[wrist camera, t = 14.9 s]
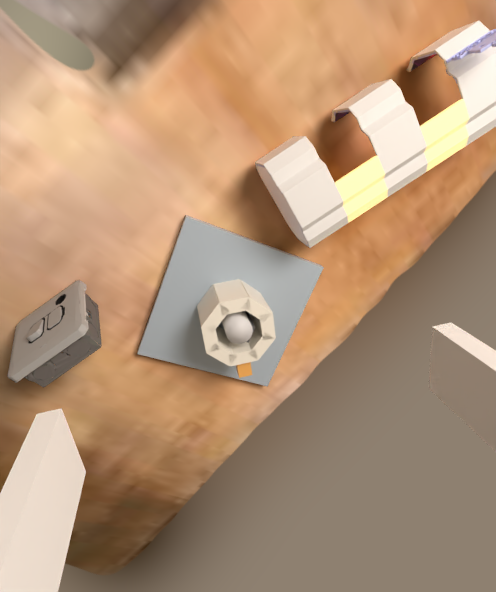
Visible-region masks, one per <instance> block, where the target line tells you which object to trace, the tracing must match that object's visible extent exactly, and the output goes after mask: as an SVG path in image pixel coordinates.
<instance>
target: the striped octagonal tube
mask: <svg viewBox="0 0 496 592" xmlns="http://www.w3.org/2000/svg"><path fill="white" fill-rule="evenodd" d="M436 54H438V55H439V56H440V57H441V58H442V59H443V60H444V63H445V66H446V72H447V74H448V75H450V76H453V78H454V79H455V80H456V84H458V87H459V90H460V93H461V97H462V99H461V100H459V101H457V102H456V103H454V104H453V105H451V106H449V107H448V108H446V109H445V110H443V111H442V112H440V113H439V114H437V115H436V116H434V117H433V118H431V119H430V120H428V121H427V122H425V123H424V124H422V125H421V126H420V125H419V123H418V120H417V117H416V114H415V112H414V109H413V107H412V106H411V105H409V104H408V103H407V102H406V101H405V99H404V96H403V94H402V91H401V89H400V88H399V87H398V86H397V84H396V83H395V82H394V81H393V80H392V79H389V80H385V81H381V82H378V83H374V84H371V85H369V86H368V87H366V88H365V89H363V90H362V91H360V92H359V93H357V94H356V95H354V96H353V97H351V98H350V99H348V100H347V101H345V102H344V103H342V104H341V105H339V106H338V107H336V108H335V109H333V110H332V119H331V121H333V122H336V121H337V120H339V119H340V118H342V117H343V116H345V115H346V114H348V113H349V112H351V113H352V114H353V115H354V116H355V117H356V118H357V121H358V123H359V125H360V128H361V131H362V132H364V133H365V134H366V135H367V136H368V137H369V140H370V141H371V144H372V146H373V148H374V151H375V153H376V156H374V157H372V158H371V159H369V160H368V161H366V162H365V163H363V164H362V165H360V166H359V167H357V168H356V169H354V170H353V171H351V172H350V173H348V174H346V175H345V176H343V177H342V178H340V179H339V180H337V181H336V182H334V180H333V178H332V176H331V174H330V172H329V170H328V168H327V166H326V165H325V163H324V162H323V161H322V160H321V159H320V158H319V156H318V154H317V152H316V150H315V148H314V146H313V145H312V144H311V142H310V141H309V140H308V139H307V137H306V136H293V137H292V138H290V139H289V140H287V141H286V142H284V143H283V144H281V145H280V146H278V147H277V148H275V149H274V150H272V151H271V152H269V153H268V154H266V155H265V156H263V157H262V158H260V159H259V160H257V161H256V162H255V165H256V168H257V169H256V170H257V171H258V173H259V175H260V177H261V179H262V180H263V182H264V184H265V186H266V187H267V189H268V191H269V193H270V194H271V196H272V198H273V200H274V202H275V203H276V205H277V207H278V209H279V210H280V212H281V214H282V216H283V217H284V219H285V221H286V223H287V224H288V226H289V227H290V230H292V232H293V233H294V234H295V236H296V237H297V238H298V240H300V241H301V242H303V243H304V244H305V245H307V246H308V247H309V248H311V247H312V246H314V245H315V244H317V243H318V242H320V241H321V240H323V239H324V238H326V237H328V236H329V235H331V234H332V233H334V232H335V231H337V230H338V229H340V228H341V227H343V226H344V225H346V224H347V223H349V222H350V221H352V220H354V219H355V218H357V217H358V216H360V215H361V214H363V213H364V212H366V211H367V210H369V209H370V208H372V207H373V206H375V205H376V204H378V203H379V202H381V201H383V200H384V199H386V198H387V197H389V196H390V195H392V194H393V193H395V192H396V191H398V190H399V189H401V188H402V187H404V186H405V185H407V184H409V183H410V182H412V181H413V180H415V179H416V178H418V177H419V176H421V175H422V174H424V173H425V172H427V171H428V170H430V169H431V168H433V167H434V166H436V165H438V164H439V163H441V162H442V161H444V160H445V159H447V158H448V157H450V156H451V155H453V154H454V153H456V152H457V151H459V150H460V149H462V148H463V147H465V146H467V145H468V144H470V143H471V142H473V141H474V140H476V139H477V138H479V137H480V136H482V135H483V134H485V133H486V132H488V131H489V130H491V129H493V128H494V127H496V29H494V30H491V31H489V29H487V28H486V27H485V26H484V25H483V24H482V23H481V22H480V21H476V22H474V23H471V24H468V25H466V26H463V27H460V28H458V29H455V30H452V31H450V32H449V33H447V34H446V35H444V36H443V37H441V38H440V39H438V40H437V41H435V42H434V43H432V44H431V45H429V46H428V47H426V48H425V49H423V50H422V51H420V52H419V53H417V54H416V55H414V56H413V57H411V60H410V63H409V67H408V68H407V69H406V70H407V71H409V72H410V71H412V70H414V69H415V68H417V67H418V66H420V65H421V64H423V63H424V62H426V61H427V60H429V59H430V58H432V57H433V56H435V55H436Z"/></svg>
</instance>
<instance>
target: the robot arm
mask: <svg viewBox="0 0 496 592" xmlns="http://www.w3.org/2000/svg"><path fill="white" fill-rule="evenodd" d="M429 389H430V390H431V391H432V392H433V393H434V394H435V395H436V396H437V397H438V398H439V399H440V400H441V401H443V403H444V404H445V405H447V406H448V407H449V408H450V409H451V410H452V411H453V412H454V413H455V414H456V415H457V416H458V417H459V418H461V420H462V421H464V422H465V423H466V424H467V425H468V426H469V427H470V428H471V429H472V430H473V431H474V432H475V433H476V434H477V435H478V436H480V438H482V439H483V440H484V441H485V442H486V443H487V444H488V445H489V446H490V447H491V448H492V449H493V450H494V451H495V452H496V351H495V350H493V349H492V348H490V347H489V346H487V345H486V344H484V343H482V342H481V341H479V340H478V339H476V338H475V337H473V336H472V335H470V334H468V333H467V332H465V331H464V330H462V329H461V328H459V327H457V326H456V325H454V324H453V323H447V324H443V325H438V326H433V327H432V341H431V358H430V375H429ZM85 473H86V471H85V468H84V466H83V463H82V460H81V458H80V455H79V453H78V450H77V447H76V445H75V442H74V440H73V437H72V434H71V432H70V429H69V426H68V424H67V421H66V419H65V416H64V413H63V411H62V408H61V409H57V410H52V411H48V412H43V413H39V414H37V415H36V417H35V419H34V421H33V423H32V426H31V428H30V430H29V432H28V434H27V436H26V439H25V441H24V443H23V445H22V447H21V449H20V452H19V454H18V456H17V458H16V460H15V463H14V465H13V467H12V469H11V471H10V473H9V476H8V478H7V480H6V482H5V484H4V486H3V489H2V491H1V493H0V592H58V589H59V585H60V581H61V576H62V572H63V567H64V564H65V559H66V555H67V551H68V546H69V542H70V538H71V534H72V529H73V525H74V521H75V516H76V512H77V508H78V504H79V499H80V495H81V491H82V486H83V482H84V478H85Z"/></svg>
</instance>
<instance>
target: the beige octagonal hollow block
mask: <svg viewBox="0 0 496 592" xmlns="http://www.w3.org/2000/svg"><path fill="white" fill-rule="evenodd" d="M197 309H198V314H199V319H200V324H201V329H202V334H203V339H204V344H205V349H206V353H207V354H208V355H210V356H212V357H214V358H216V359H217V360H219V361H221V362H223V363H225V364H226V365H228V366H235V365H236V370H237V373H238V376H239V378H241V377H246V376H250V375H252V369H251V362H253V361H258V360H259V359H260V358H261V356H262V355H263V354H264V353H265V351H266V350H267V349H268V348H269V346H270V345H271V344H272V343H273V341H274V340H275V338H276V335H275V327H274V318H273V312H272V310H271V309H270V307H269V306H268V304H267V303H266V301H265V299H264V298H263V296H262V295H261V293H260V292H258V291H257V290H256V289H254V288H253V287H251V286H250V285H248V284H247V283H245V282H244V281H242V280H241V279H237V280H231V281H226V282H221V283H216V284H212V286H211V287H210V288H209V290H208V291H207V292H206V294H205V295H204V297H203V298H202V299H201V301H200V302H199V303H198V305H197ZM241 311H247V312H249V313H250V314H252V315H251V316H250V317H251V319H252V321H253V323H254V325H255V329H254V332H253V334H252V336H251V339H250V341H249V343H248V342H245V343H242V344H235V343H232V342H231V341H229V340H228V338H227V336H226V333H225V330H224V329H222V328H220V327H219V326H218V325H219V324H220V323H221V321H222V320H223V319H224V318H225V316H226V315H227V314H231V313H236V312H241Z"/></svg>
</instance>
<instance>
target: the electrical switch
mask: <svg viewBox="0 0 496 592" xmlns="http://www.w3.org/2000/svg"><path fill="white" fill-rule="evenodd" d="M85 291H86V284H84V283H83V282H82V281H80V280H78V281H76V282H74V283H73V284H71V285H70V286H68V287H67V288H66V289H64V290H63V291H61V292H60V293H59V294H57V295H56V296H55V297H53V298H52V299H50V300H49V301H48V302H46V303H45V304H43V305H42V306H41V307H39V308H38V309H36V310H35V311H34V312H32V313H31V314H29V315H28V316H27V317H25V318H24V319H22V320H21V321H20V322H19V323H18V324H17V326H16V330H15V336H14V341H13V347H12V353H11V359H10V365H9V371H8V378H10V379H11V380H13V381H14V382H16V383H17V382H18V381H20V380H21V379H22V378H26V379H28V380H29V381H33V382H35V383H37V384H39V385H40V386H42V387H45V386H47V385H48V384H50V383H51V382H52V381H54V380H55V379H57V378H58V377H59V376H61V375H62V374H64V373H65V372H67V371H68V370H69V369H71V368H72V367H74V366H75V365H77V364H78V363H79V362H81V361H82V360H84V359H85V358H86V357H88V356H89V355H91V354H92V353H94V352H95V351H96V350H98V349H99V348H101V346H102V345H101V334H100V323H99V312H98V305H97V304H96V303H95V302H94V301H92V300H91V298H90V297H89V296H88V295H87V294H86V293H85ZM89 311H90V312H91V313H90V312H89ZM89 315H90V317H88V316H89ZM97 343H98V344H99V345H98V344H97ZM100 345H101V346H100ZM67 349H68V350H67ZM61 352H63V353H61ZM69 355H71V356H69ZM54 364H55V365H56V366H55V365H54ZM52 377H53V378H52Z"/></svg>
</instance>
